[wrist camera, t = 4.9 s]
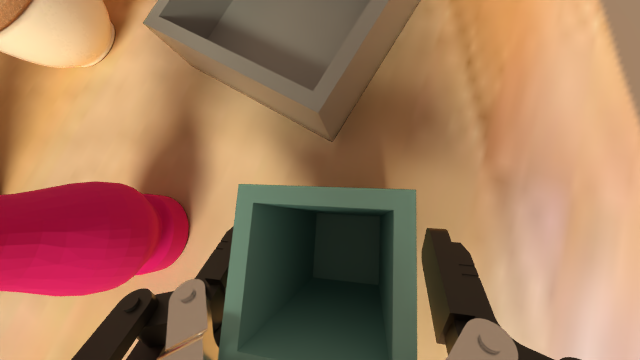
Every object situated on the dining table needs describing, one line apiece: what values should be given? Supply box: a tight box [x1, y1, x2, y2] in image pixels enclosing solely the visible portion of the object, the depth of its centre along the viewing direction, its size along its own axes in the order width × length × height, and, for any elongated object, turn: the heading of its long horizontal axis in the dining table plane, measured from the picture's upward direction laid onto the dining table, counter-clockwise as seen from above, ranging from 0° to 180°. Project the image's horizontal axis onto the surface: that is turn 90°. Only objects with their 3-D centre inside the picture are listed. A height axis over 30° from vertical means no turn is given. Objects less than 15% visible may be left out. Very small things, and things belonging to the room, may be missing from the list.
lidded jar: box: [0, 0, 115, 68], centre depth 21 cm, size 11×11×9 cm
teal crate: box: [218, 184, 417, 360], centre depth 12 cm, size 6×6×10 cm
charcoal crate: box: [143, 0, 420, 142], centre depth 18 cm, size 16×14×5 cm
